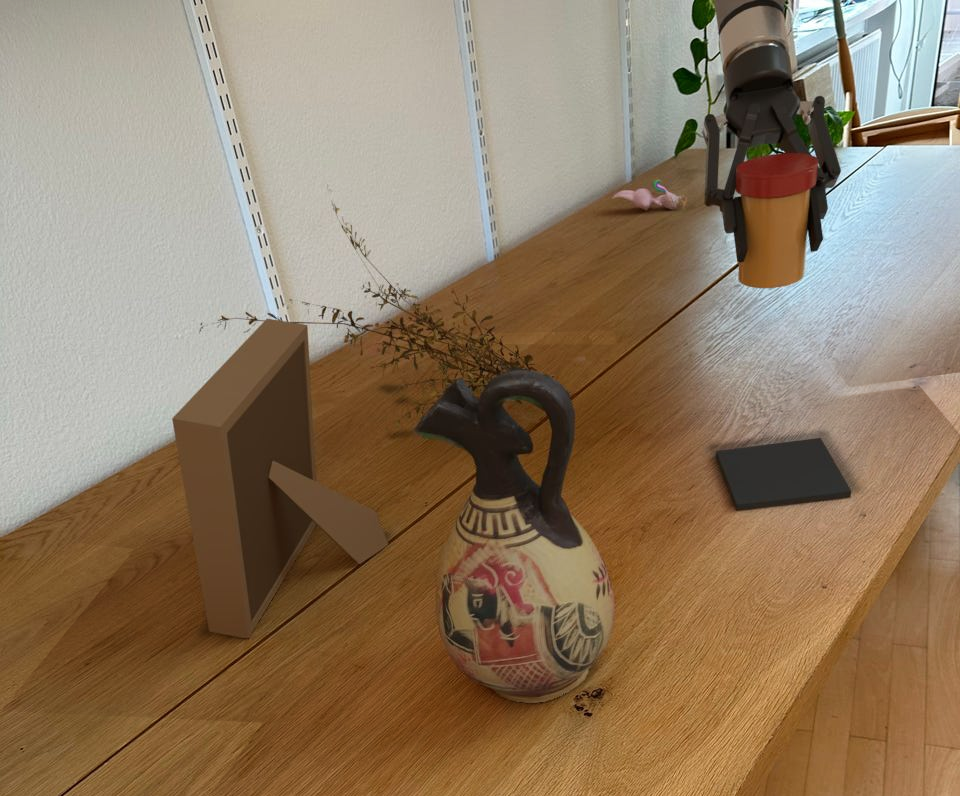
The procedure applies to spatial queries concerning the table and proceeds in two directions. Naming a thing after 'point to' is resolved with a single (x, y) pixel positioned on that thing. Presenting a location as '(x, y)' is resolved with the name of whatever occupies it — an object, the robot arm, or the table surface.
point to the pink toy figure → (645, 199)
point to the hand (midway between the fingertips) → (779, 250)
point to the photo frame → (259, 478)
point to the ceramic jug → (517, 549)
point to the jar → (775, 240)
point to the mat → (781, 474)
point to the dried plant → (426, 341)
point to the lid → (776, 175)
